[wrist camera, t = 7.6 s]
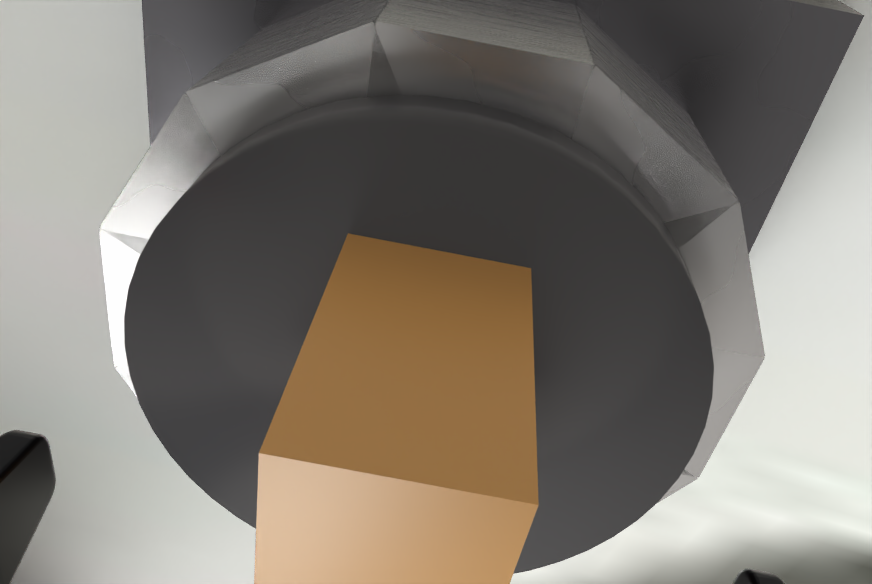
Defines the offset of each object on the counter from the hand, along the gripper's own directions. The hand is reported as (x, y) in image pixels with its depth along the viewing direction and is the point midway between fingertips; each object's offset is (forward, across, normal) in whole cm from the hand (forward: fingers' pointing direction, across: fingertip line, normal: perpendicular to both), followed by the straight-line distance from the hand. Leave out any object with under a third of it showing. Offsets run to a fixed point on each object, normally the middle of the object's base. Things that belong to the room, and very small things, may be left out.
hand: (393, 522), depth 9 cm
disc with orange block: (+5, 0, 0) cm, 5 cm away
